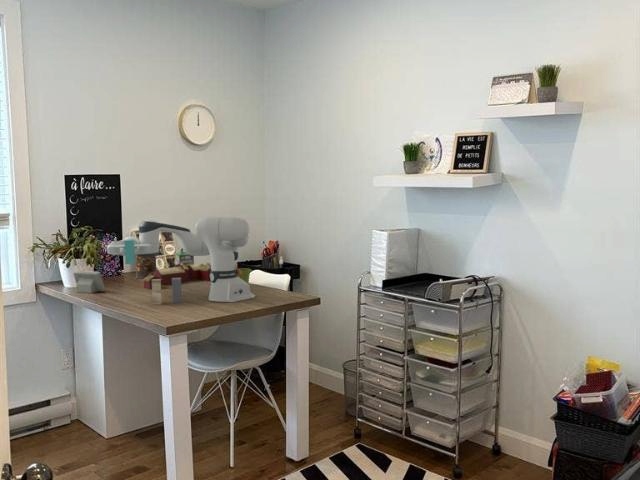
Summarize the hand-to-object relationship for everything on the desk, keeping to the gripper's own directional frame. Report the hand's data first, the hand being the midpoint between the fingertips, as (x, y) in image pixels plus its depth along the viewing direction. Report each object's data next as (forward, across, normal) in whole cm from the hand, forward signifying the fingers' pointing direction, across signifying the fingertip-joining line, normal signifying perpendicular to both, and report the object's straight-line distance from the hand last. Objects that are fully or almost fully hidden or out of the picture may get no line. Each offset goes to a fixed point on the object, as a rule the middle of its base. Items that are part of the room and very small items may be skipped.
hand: (129, 250), depth 285 cm
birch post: (+8, -12, -24) cm, 28 cm away
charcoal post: (+6, -21, -24) cm, 32 cm away
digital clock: (-33, +21, -24) cm, 46 cm away
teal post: (-1, 0, -6) cm, 6 cm away
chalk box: (-83, -29, -24) cm, 91 cm away
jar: (-71, -6, -24) cm, 76 cm away
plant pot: (-27, -56, -24) cm, 67 cm away
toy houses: (-47, -23, -25) cm, 58 cm away
